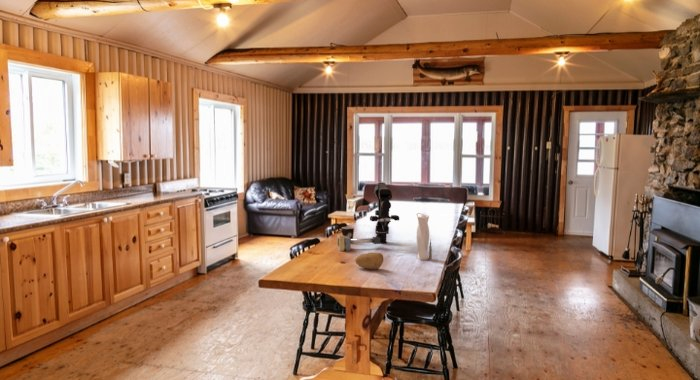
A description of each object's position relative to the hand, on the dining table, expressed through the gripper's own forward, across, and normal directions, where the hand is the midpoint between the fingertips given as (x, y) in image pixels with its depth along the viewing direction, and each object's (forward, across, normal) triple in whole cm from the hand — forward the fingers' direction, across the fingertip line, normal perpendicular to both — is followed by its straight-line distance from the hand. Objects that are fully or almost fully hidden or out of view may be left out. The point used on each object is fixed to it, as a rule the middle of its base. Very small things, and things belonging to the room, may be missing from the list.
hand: (384, 231), depth 307 cm
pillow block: (+11, +26, 0) cm, 28 cm away
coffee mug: (+11, +21, -23) cm, 33 cm away
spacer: (+11, +30, 0) cm, 31 cm away
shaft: (+8, +15, 0) cm, 17 cm away
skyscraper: (+11, -13, +35) cm, 39 cm away
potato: (+11, +24, +49) cm, 56 cm away
